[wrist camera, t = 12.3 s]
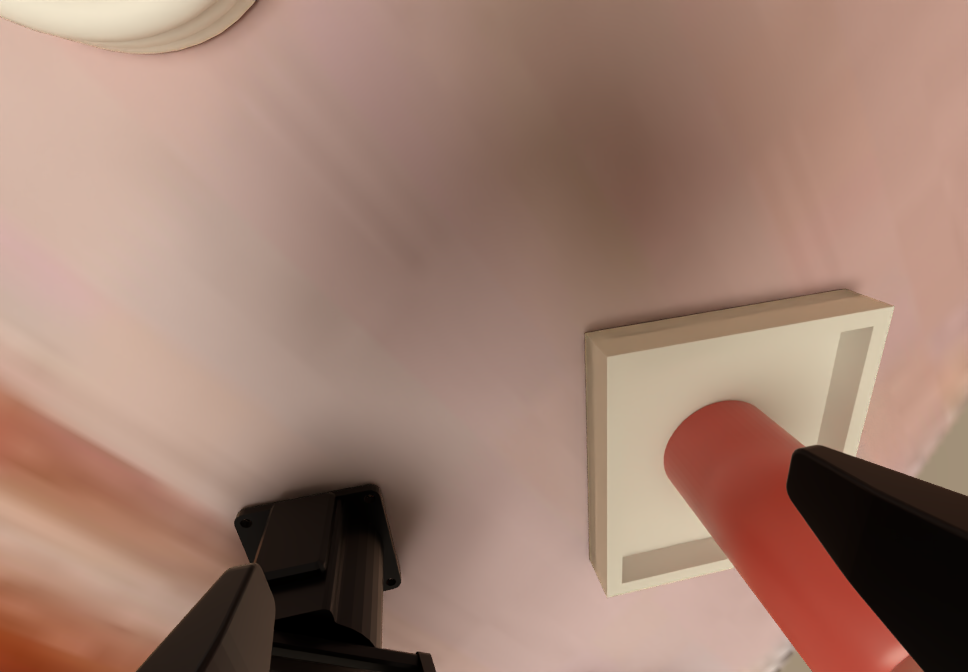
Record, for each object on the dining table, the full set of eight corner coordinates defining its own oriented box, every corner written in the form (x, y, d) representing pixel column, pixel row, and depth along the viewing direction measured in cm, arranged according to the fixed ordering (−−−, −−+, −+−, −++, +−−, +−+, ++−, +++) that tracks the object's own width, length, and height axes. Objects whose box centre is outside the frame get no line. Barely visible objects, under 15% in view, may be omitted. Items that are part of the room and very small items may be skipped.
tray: (798, 511, 29) (832, 544, 27) (589, 559, 27) (607, 598, 25) (845, 288, 23) (894, 306, 21) (584, 333, 22) (606, 357, 19)
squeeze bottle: (751, 490, 26) (1116, 875, 13) (653, 496, 25) (935, 917, 12) (783, 398, 24) (1265, 749, 10) (677, 401, 23) (1057, 789, 9)
